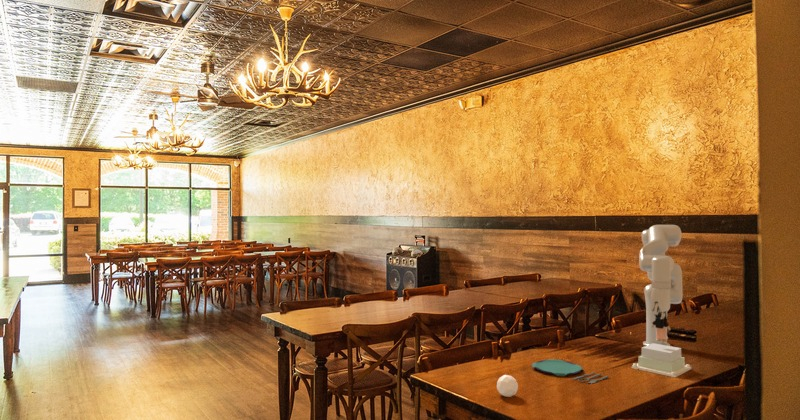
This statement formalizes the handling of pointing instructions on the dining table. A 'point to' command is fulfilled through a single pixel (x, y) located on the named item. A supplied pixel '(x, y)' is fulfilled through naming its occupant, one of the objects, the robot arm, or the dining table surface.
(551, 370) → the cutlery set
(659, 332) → the grandmother figurine
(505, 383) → the geometric ball
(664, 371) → the white stepped pedestal
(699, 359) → the dining table surface
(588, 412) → the dining table surface
